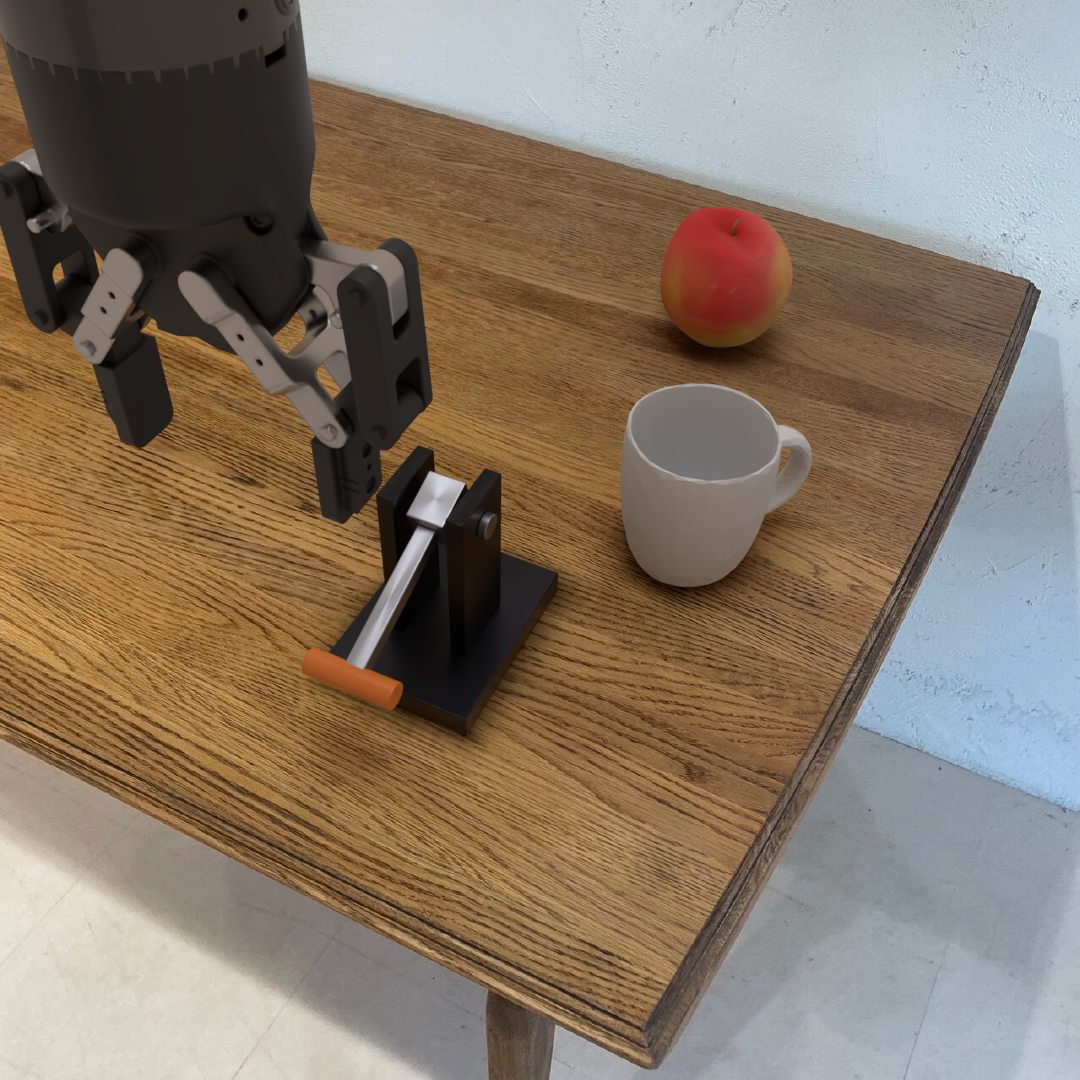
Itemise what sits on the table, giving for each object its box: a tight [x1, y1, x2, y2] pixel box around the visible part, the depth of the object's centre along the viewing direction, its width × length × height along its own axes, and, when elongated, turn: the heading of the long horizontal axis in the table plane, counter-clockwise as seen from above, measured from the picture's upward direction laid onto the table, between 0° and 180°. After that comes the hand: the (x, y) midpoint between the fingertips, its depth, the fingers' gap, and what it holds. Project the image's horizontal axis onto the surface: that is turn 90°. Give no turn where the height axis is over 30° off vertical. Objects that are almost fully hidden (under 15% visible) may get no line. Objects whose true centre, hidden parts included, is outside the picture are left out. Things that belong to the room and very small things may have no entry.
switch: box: [301, 471, 469, 711], centre depth 58 cm, size 12×5×2 cm, turn 155°
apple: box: [659, 206, 794, 348], centre depth 85 cm, size 10×10×10 cm
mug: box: [619, 382, 813, 588], centre depth 69 cm, size 13×9×10 cm
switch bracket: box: [328, 444, 559, 736], centre depth 63 cm, size 12×9×12 cm
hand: (246, 468), depth 41 cm, fingers open, 8 cm apart
